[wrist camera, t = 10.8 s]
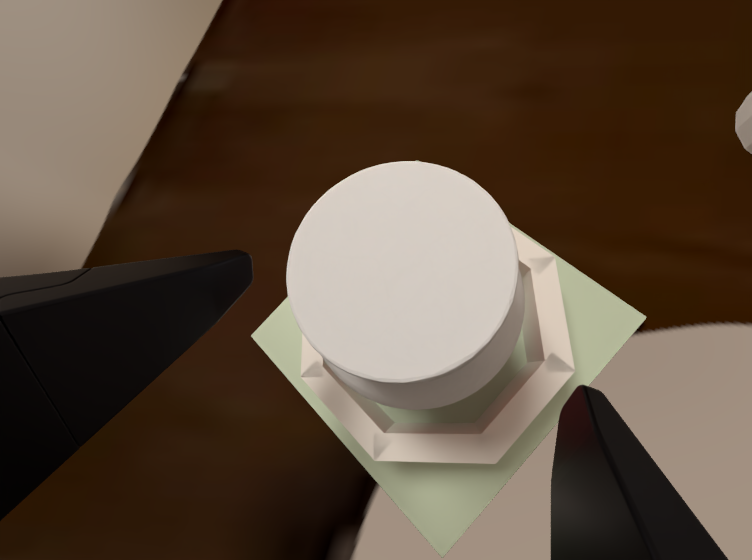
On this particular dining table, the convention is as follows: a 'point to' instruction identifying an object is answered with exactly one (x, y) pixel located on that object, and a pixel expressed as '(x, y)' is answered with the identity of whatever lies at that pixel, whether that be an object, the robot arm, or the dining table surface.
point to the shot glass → (745, 123)
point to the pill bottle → (408, 284)
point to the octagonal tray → (468, 398)
